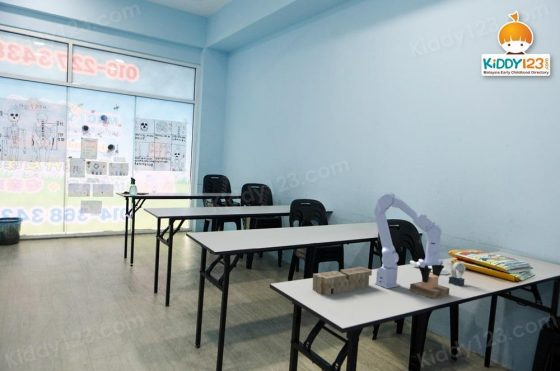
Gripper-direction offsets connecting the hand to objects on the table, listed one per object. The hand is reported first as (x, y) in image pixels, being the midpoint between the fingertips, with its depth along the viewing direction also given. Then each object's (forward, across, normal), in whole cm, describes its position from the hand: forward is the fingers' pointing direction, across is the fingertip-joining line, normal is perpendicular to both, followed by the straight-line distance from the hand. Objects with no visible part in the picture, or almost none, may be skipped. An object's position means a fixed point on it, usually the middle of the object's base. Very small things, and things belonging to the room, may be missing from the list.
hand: (430, 281), depth 175 cm
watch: (+6, +25, +2) cm, 26 cm away
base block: (+5, 0, 0) cm, 5 cm away
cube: (+2, 0, 0) cm, 2 cm away
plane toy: (+6, +35, +24) cm, 43 cm away
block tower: (+6, -34, +22) cm, 40 cm away
